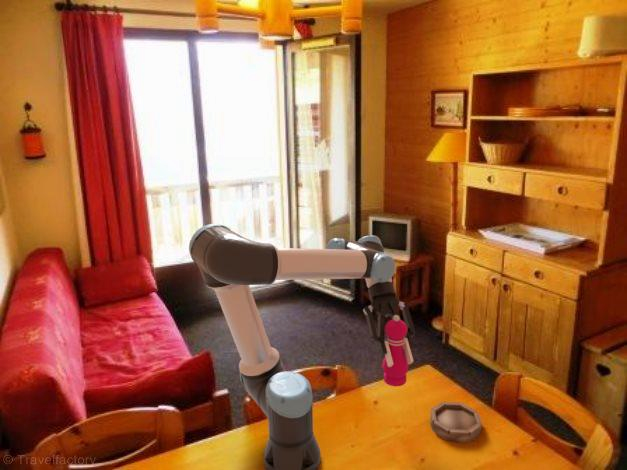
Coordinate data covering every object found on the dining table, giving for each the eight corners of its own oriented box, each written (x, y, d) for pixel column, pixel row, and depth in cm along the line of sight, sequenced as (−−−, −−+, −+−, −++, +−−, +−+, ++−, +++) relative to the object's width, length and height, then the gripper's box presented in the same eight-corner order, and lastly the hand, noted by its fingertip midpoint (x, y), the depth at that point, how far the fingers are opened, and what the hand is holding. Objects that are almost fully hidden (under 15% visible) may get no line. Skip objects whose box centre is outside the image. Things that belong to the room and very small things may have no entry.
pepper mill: (407, 388, 127) (410, 322, 122) (381, 386, 129) (382, 320, 123) (408, 374, 134) (410, 310, 129) (382, 372, 135) (383, 308, 130)
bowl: (433, 440, 130) (433, 431, 129) (428, 409, 143) (428, 400, 143) (485, 444, 128) (486, 434, 127) (475, 412, 142) (475, 403, 141)
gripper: (404, 287, 142) (427, 363, 131) (348, 293, 138) (365, 372, 127) (412, 277, 135) (436, 355, 124) (353, 283, 132) (372, 365, 121)
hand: (400, 364), depth 126 cm, fingers closed on pepper mill, 5 cm apart
